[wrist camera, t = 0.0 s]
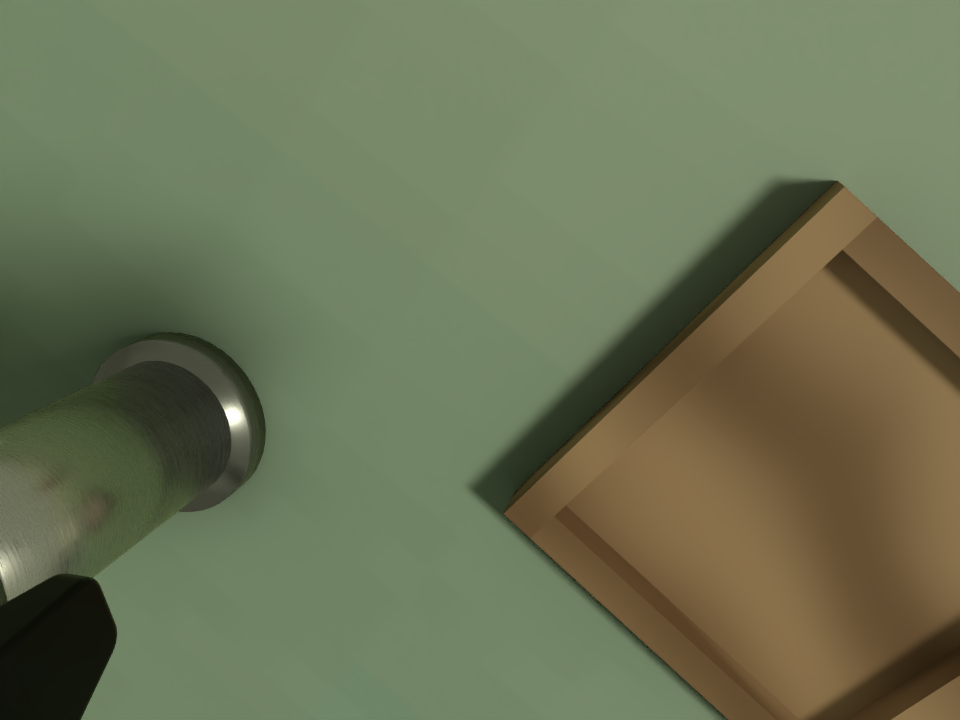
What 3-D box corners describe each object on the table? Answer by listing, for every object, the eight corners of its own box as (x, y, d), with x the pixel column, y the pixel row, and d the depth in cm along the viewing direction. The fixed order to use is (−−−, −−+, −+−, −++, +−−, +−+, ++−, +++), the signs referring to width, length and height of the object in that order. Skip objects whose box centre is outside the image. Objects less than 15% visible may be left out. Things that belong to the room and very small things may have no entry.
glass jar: (206, 530, 29) (-75, 771, 19) (81, 415, 29) (-269, 594, 19) (298, 419, 27) (37, 624, 16) (162, 295, 27) (-182, 424, 16)
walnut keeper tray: (816, 768, 26) (821, 805, 24) (514, 492, 25) (503, 513, 24) (1205, 519, 21) (1237, 548, 20) (837, 180, 21) (844, 186, 19)
